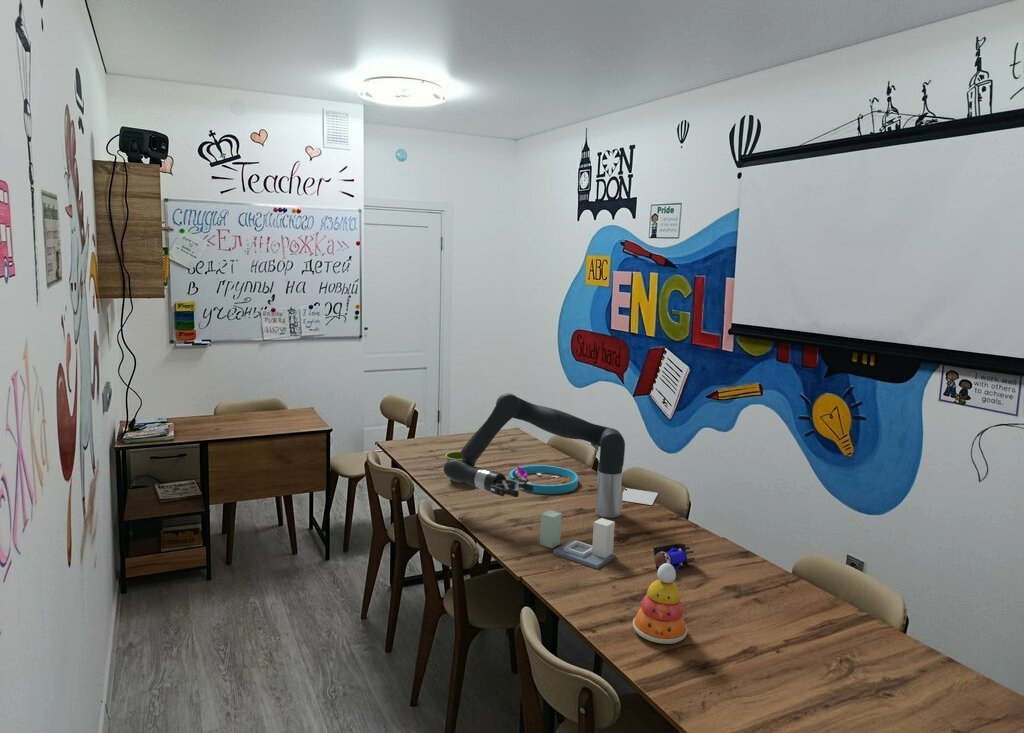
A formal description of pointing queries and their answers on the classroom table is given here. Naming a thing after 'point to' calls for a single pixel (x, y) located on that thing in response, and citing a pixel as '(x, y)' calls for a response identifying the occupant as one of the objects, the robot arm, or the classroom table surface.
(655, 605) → the stacking toy
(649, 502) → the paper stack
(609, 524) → the standing pillar
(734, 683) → the classroom table surface
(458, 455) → the plant pot
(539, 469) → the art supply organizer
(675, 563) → the character figurine
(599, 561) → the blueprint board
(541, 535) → the sage pillar
